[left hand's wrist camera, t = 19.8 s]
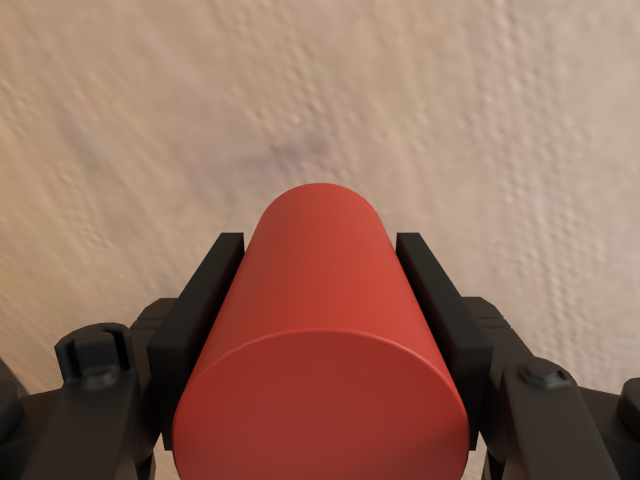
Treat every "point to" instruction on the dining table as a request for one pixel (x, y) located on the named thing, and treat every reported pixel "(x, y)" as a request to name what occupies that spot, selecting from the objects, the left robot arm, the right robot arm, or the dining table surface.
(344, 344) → the canister
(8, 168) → the dining table surface
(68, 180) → the dining table surface
